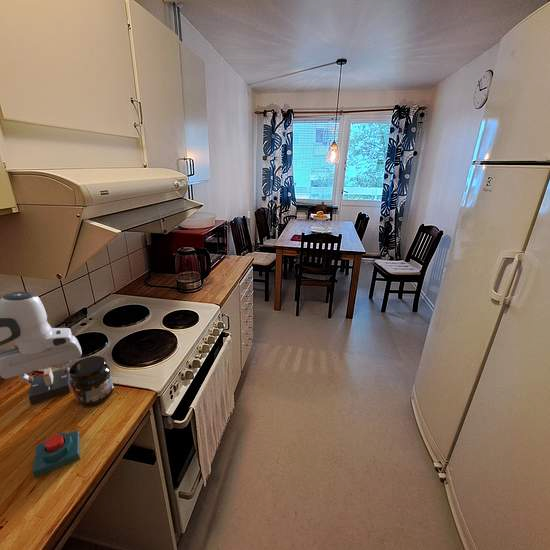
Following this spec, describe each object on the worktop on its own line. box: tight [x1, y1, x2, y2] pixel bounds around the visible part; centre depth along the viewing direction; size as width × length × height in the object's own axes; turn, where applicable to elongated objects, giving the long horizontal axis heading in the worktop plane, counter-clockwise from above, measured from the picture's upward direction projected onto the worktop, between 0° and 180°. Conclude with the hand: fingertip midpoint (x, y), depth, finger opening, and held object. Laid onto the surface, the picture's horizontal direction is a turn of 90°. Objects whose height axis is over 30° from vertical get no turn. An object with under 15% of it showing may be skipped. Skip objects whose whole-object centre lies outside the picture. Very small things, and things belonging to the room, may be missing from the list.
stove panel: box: [28, 368, 72, 406], centre depth 93 cm, size 10×10×3 cm
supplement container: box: [69, 355, 115, 408], centre depth 89 cm, size 10×10×12 cm
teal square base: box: [32, 429, 81, 479], centre depth 72 cm, size 9×8×4 cm
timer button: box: [45, 433, 64, 452], centre depth 71 cm, size 4×4×2 cm
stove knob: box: [43, 367, 53, 386], centre depth 92 cm, size 5×2×4 cm, turn 33°
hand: (49, 376), depth 92 cm, fingers open, 8 cm apart
